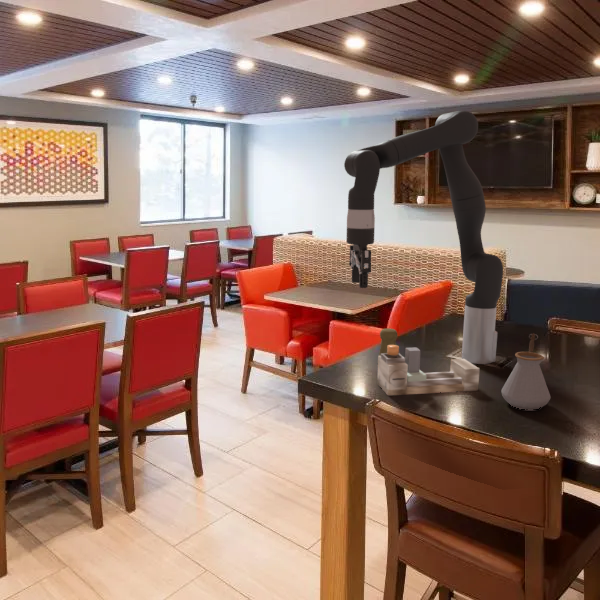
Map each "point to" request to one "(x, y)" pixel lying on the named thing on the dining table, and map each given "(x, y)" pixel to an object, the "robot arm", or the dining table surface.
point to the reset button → (392, 349)
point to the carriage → (414, 365)
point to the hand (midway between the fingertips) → (359, 285)
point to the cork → (387, 339)
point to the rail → (396, 383)
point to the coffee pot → (527, 381)
